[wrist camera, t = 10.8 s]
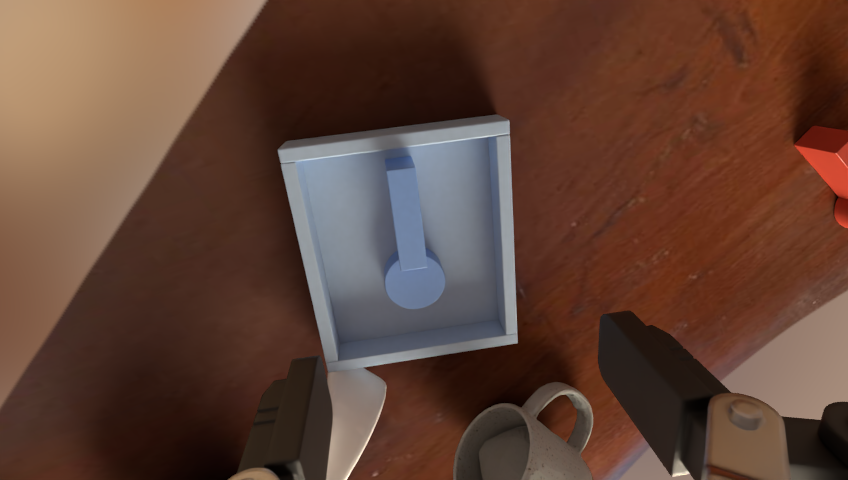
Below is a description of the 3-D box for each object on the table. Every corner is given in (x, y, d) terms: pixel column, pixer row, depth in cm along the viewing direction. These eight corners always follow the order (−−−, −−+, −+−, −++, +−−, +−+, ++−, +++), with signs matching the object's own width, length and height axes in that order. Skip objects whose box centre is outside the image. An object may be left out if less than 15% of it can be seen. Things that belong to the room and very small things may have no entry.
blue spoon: (365, 161, 27) (365, 173, 24) (429, 153, 27) (436, 163, 24) (388, 301, 31) (390, 326, 28) (444, 293, 31) (451, 316, 28)
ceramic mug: (514, 488, 39) (548, 583, 32) (443, 446, 36) (462, 538, 29) (605, 405, 37) (663, 487, 30) (536, 354, 34) (582, 430, 27)
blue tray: (285, 140, 27) (276, 149, 24) (497, 114, 27) (509, 119, 25) (331, 349, 32) (328, 373, 30) (507, 322, 33) (518, 343, 30)
